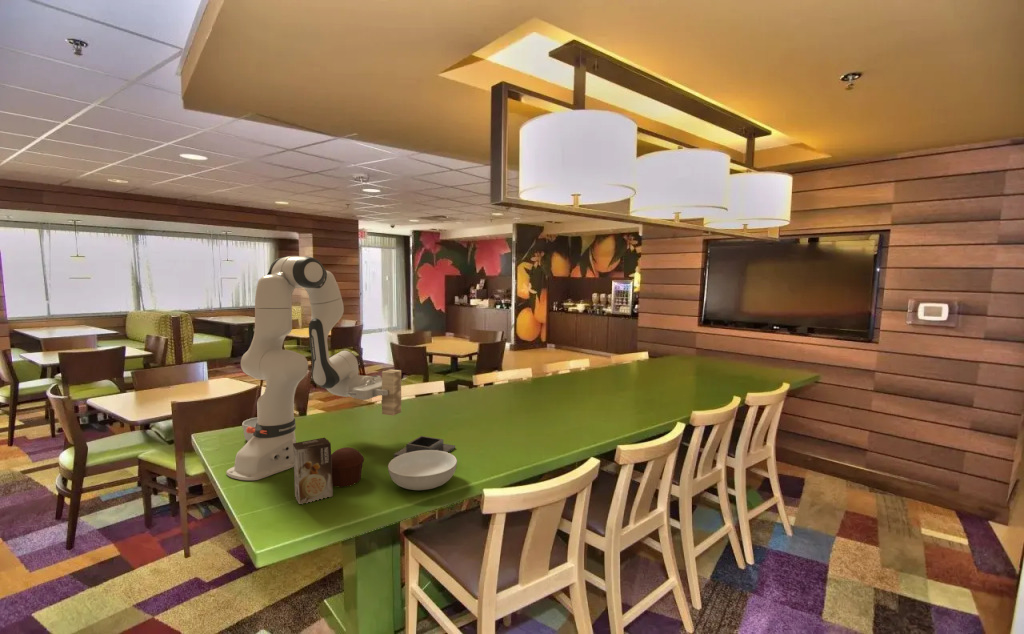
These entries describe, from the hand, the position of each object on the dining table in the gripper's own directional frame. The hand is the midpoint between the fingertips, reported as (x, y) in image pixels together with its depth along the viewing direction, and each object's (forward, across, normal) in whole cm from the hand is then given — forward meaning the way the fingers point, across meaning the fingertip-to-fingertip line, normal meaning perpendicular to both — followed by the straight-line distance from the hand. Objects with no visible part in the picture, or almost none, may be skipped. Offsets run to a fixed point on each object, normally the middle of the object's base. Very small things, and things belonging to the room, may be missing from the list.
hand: (393, 390), depth 172 cm
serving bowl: (+27, -23, +22) cm, 41 cm away
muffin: (+4, -31, +22) cm, 38 cm away
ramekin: (-53, -13, +22) cm, 58 cm away
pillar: (-1, 0, +8) cm, 9 cm away
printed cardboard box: (+3, -43, +22) cm, 48 cm away
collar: (+14, -1, +21) cm, 26 cm away
